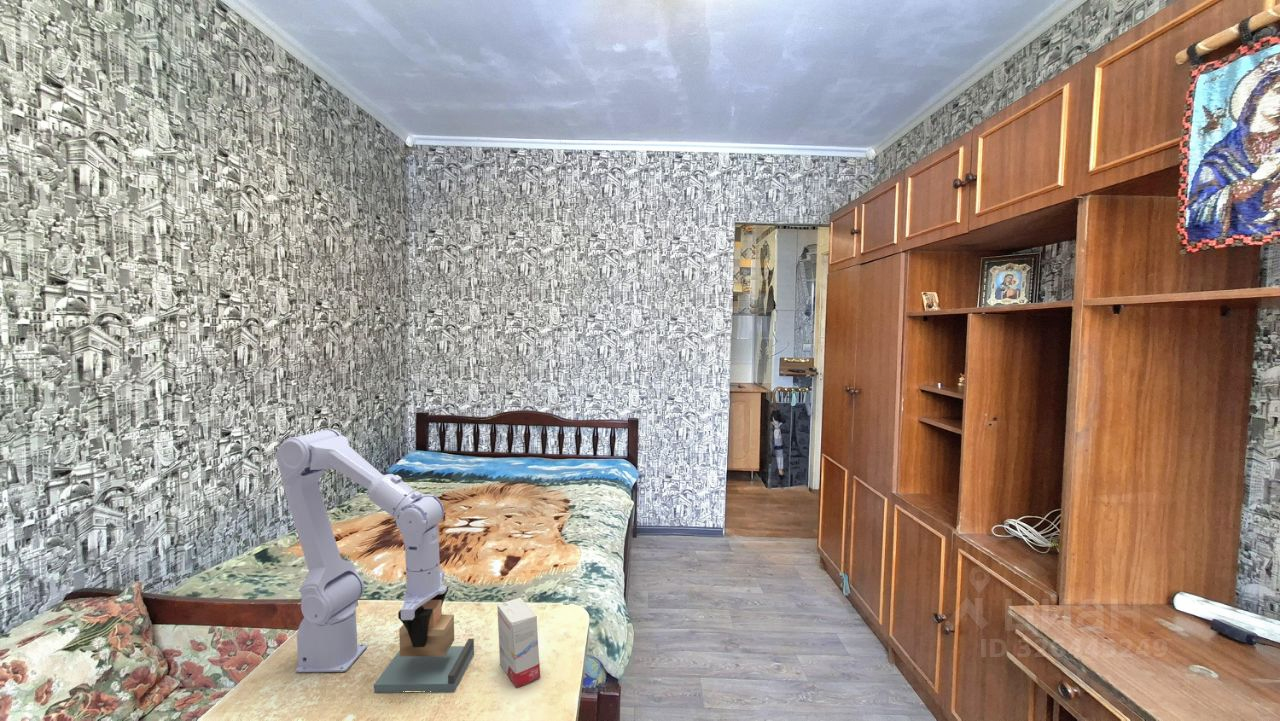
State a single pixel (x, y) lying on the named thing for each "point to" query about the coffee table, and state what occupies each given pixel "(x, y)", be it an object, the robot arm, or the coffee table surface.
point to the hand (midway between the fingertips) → (425, 636)
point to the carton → (434, 611)
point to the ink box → (518, 641)
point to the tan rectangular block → (430, 639)
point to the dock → (426, 671)
